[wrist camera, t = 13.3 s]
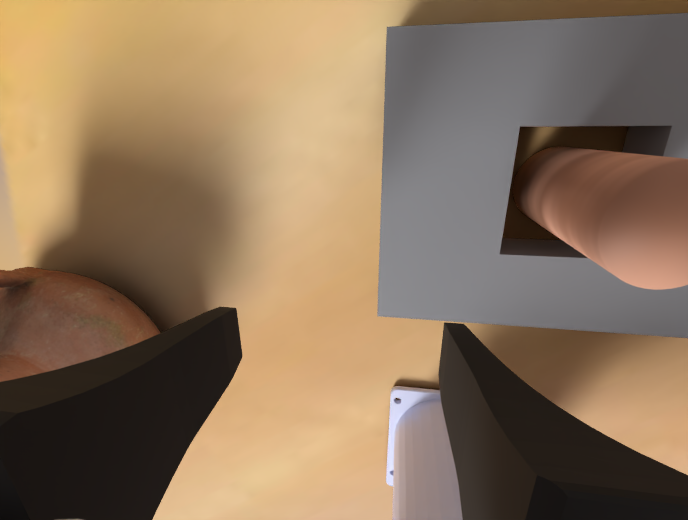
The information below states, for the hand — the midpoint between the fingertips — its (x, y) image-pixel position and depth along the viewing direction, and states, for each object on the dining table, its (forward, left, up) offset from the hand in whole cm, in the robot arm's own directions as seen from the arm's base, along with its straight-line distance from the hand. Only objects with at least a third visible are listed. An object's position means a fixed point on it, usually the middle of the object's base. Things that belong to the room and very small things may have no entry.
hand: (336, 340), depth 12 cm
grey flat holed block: (+4, -10, -10) cm, 15 cm away
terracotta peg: (+4, -10, -10) cm, 15 cm away
